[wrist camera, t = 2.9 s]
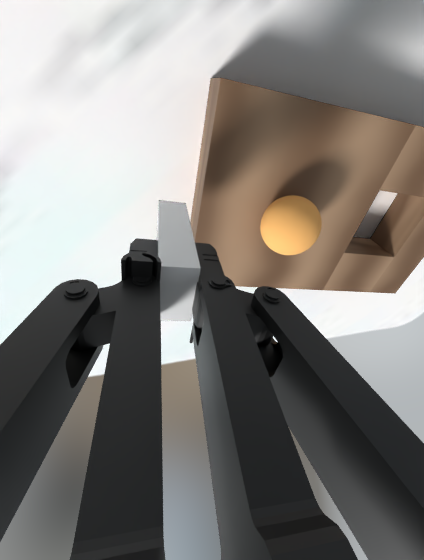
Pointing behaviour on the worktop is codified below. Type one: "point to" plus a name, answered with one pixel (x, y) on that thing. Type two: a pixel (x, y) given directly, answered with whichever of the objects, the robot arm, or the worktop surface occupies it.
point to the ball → (291, 225)
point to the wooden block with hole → (307, 189)
